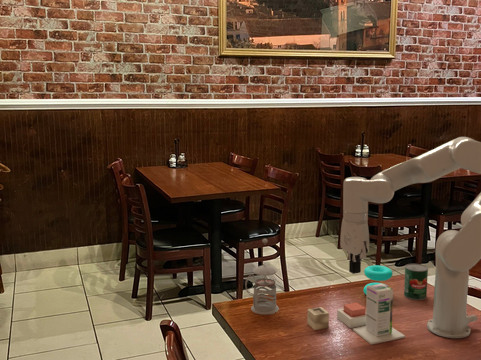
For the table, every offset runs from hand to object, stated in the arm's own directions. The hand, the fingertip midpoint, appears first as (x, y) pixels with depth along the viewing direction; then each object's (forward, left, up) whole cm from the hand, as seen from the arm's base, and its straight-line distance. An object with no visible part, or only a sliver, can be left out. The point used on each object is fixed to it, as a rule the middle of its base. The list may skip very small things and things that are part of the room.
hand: (354, 272), depth 167 cm
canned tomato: (-32, -10, -17) cm, 38 cm away
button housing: (0, 0, -17) cm, 17 cm away
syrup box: (-3, +10, -16) cm, 19 cm away
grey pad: (-2, +10, -17) cm, 20 cm away
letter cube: (+12, -2, -17) cm, 21 cm away
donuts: (-20, -16, -17) cm, 31 cm away
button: (0, 0, -15) cm, 15 cm away
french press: (+24, -20, -17) cm, 35 cm away
